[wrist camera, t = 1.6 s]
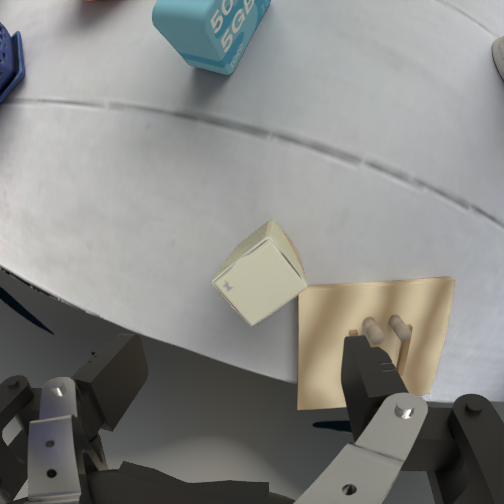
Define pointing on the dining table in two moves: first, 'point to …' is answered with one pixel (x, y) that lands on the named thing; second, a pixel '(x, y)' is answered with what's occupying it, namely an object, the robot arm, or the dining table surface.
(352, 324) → the tray
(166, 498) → the robot arm
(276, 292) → the box
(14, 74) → the flower pot
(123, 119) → the dining table surface
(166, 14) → the data package
